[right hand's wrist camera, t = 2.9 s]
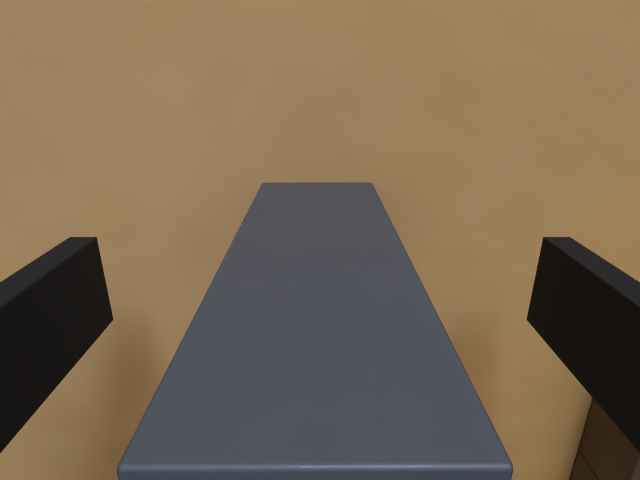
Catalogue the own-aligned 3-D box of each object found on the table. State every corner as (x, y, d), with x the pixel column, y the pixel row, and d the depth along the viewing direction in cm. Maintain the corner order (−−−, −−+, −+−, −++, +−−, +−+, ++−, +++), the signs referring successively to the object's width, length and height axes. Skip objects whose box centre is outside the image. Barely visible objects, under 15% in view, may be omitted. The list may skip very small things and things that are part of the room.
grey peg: (367, 281, 17) (467, 689, 6) (266, 281, 17) (165, 690, 6) (372, 182, 15) (516, 468, 4) (261, 182, 15) (112, 468, 4)
